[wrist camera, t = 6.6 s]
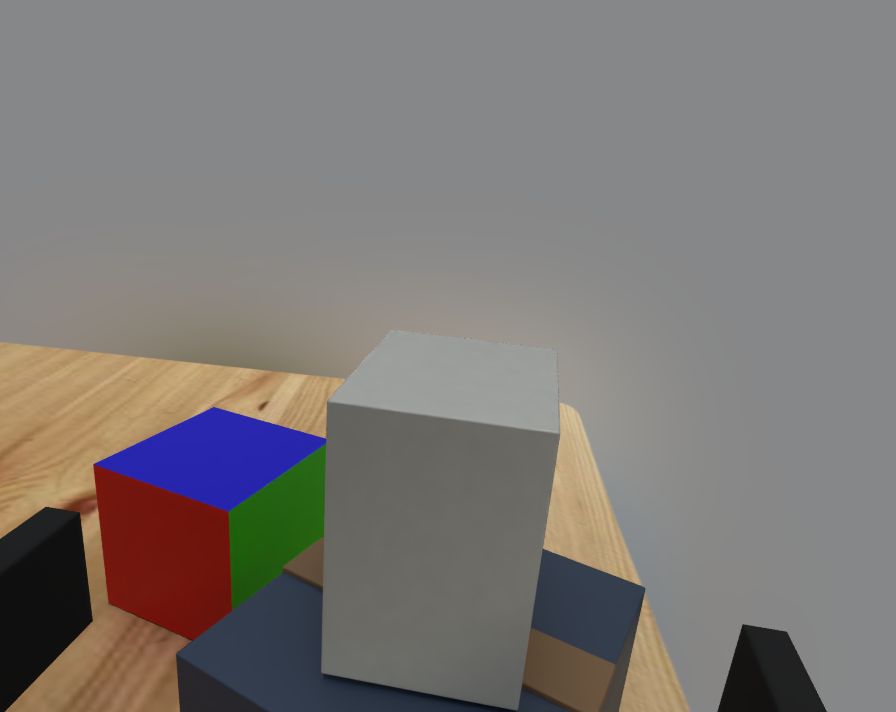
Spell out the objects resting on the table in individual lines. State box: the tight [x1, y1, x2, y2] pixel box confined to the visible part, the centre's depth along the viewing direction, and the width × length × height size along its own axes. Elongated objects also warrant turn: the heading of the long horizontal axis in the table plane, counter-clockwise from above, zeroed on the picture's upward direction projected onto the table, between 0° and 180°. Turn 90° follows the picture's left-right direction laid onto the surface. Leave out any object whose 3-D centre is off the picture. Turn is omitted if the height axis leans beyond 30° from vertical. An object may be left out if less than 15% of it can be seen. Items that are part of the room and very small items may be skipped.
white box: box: [321, 330, 560, 710], centre depth 21 cm, size 6×7×9 cm
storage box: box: [176, 537, 645, 712], centre depth 23 cm, size 12×12×8 cm
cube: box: [93, 407, 326, 640], centre depth 33 cm, size 8×8×8 cm
